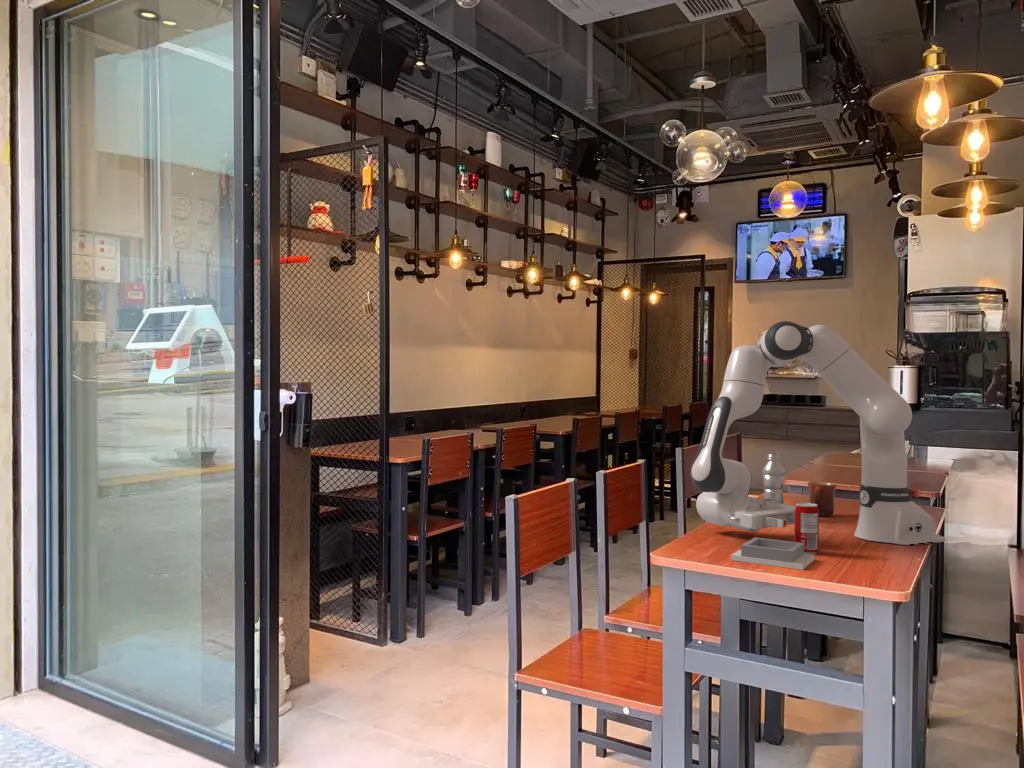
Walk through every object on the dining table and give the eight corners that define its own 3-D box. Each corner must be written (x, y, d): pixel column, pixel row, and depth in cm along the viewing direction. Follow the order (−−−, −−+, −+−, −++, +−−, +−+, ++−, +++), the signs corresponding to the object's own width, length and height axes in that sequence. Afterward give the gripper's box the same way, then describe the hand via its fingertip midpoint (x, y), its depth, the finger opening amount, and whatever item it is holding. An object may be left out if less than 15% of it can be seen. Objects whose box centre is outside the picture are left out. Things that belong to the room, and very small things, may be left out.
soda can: (803, 548, 192) (804, 500, 192) (823, 553, 187) (823, 503, 187) (789, 551, 189) (790, 502, 189) (808, 555, 184) (809, 505, 184)
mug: (810, 512, 249) (810, 480, 249) (838, 515, 245) (839, 483, 245) (801, 517, 239) (802, 484, 239) (831, 520, 235) (831, 486, 235)
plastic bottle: (787, 521, 232) (788, 455, 232) (765, 520, 232) (766, 454, 233) (780, 517, 239) (781, 453, 239) (758, 517, 239) (759, 452, 239)
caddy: (745, 551, 188) (745, 536, 188) (814, 560, 180) (814, 544, 180) (730, 560, 178) (731, 544, 178) (802, 569, 169) (803, 553, 169)
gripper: (724, 504, 196) (770, 512, 185) (774, 499, 208) (820, 505, 196) (723, 529, 196) (769, 538, 185) (773, 522, 208) (819, 530, 196)
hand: (796, 521), depth 191 cm, fingers open, 8 cm apart
